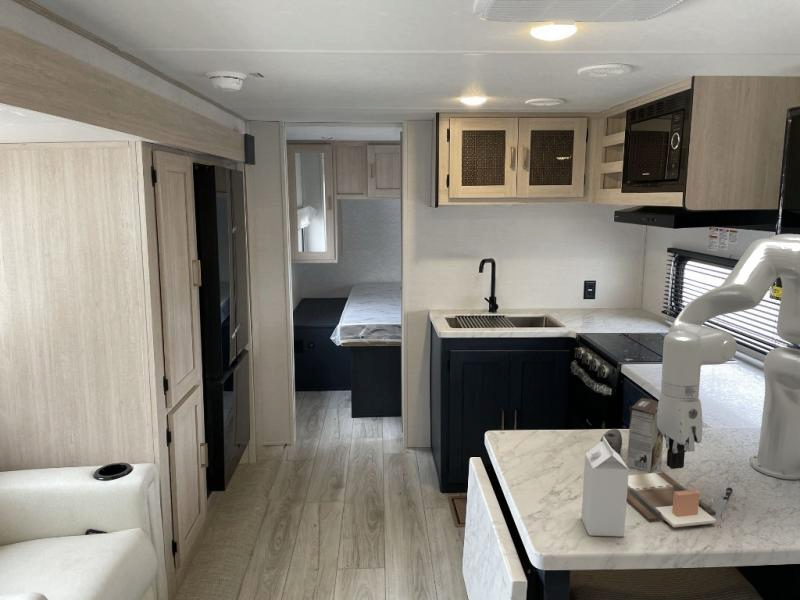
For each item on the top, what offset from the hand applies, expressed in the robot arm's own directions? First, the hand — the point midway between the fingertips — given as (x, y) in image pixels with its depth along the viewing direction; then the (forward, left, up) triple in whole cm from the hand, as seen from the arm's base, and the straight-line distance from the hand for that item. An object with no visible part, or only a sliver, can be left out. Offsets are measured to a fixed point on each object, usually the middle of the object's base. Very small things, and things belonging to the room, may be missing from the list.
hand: (675, 466), depth 136 cm
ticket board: (+1, -4, -10) cm, 10 cm away
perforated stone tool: (0, -27, -10) cm, 29 cm away
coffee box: (-6, -21, -10) cm, 24 cm away
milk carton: (+20, +5, -10) cm, 23 cm away
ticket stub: (+1, +6, -9) cm, 10 cm away
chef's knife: (-11, +1, -10) cm, 15 cm away
